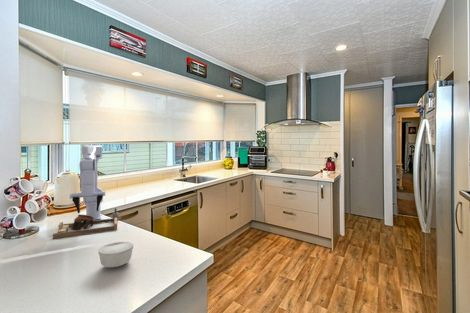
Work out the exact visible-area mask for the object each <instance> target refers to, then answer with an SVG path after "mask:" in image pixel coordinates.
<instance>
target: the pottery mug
mask: <svg viewBox="0 0 470 313" xmlns="http://www.w3.org/2000/svg"><path fill="white" fill-rule="evenodd" d="M73 220H74V221H73V223H74V224H73V225H72V227H70V230H71V231H78V230H85V229H89V226H90V227H93V226H94V224H93V221H94V220H93V217H91V216H88V215H86V214H78V215H77V216H76V217H75V218H74V219H73ZM90 223H91V225H89V224H90Z"/></svg>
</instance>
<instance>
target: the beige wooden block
mask: <svg viewBox="0 0 470 313" xmlns="http://www.w3.org/2000/svg"><path fill="white" fill-rule="evenodd" d="M63 224H64V222H63V221H62V222H60V223H59V224H58V230H57V232H56V233H63V232H69V229H70V228H69V225H63Z"/></svg>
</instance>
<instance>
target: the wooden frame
mask: <svg viewBox="0 0 470 313" xmlns="http://www.w3.org/2000/svg"><path fill="white" fill-rule="evenodd" d="M109 221H111V222H113V223H114V225H109V226H99V227H93V228H87V229H81V230H78V231H75V230H71V231H67V232H63V233H57V232H55V233H53V234H52V239H61V238H68V237H74V236H82V235H88V234H96V233H102V232H109V231H111V232H112V231H116V229H117V230H118V221H119V211H118V212H117V207H115V208H114V212H112V218H106V219H96V220H93V225H96V224H97V223H98V224H103V223H102V222H105V223H109ZM73 224H74V222H72V223H63V225H69V229H71V227H72V225H73ZM98 224H97V225H98ZM89 226H91V223H90V224H89Z"/></svg>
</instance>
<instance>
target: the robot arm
mask: <svg viewBox="0 0 470 313" xmlns="http://www.w3.org/2000/svg"><path fill="white" fill-rule="evenodd" d="M81 155H82V160H79V164H78V166H79V171H80V172H79V173H80V174H79V175H80V192H78V193H76V192H75V193H70V194H69V199H72V202H73V204H74V206H75V208H76V210H77V214H80V213H81V206H80V201H81V198H82V202H83V204H85V210H86V212H85V215H88V216H91V217H93V221H95V220H102V215H103V214H101V203H103V202H104V197H105V196H106V191H103V189H102V188H101V187H99V185H98V162H99V160H101V159H102V158H103V145H101V144H100V145H99V144H83V145H82V146H81Z"/></svg>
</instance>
